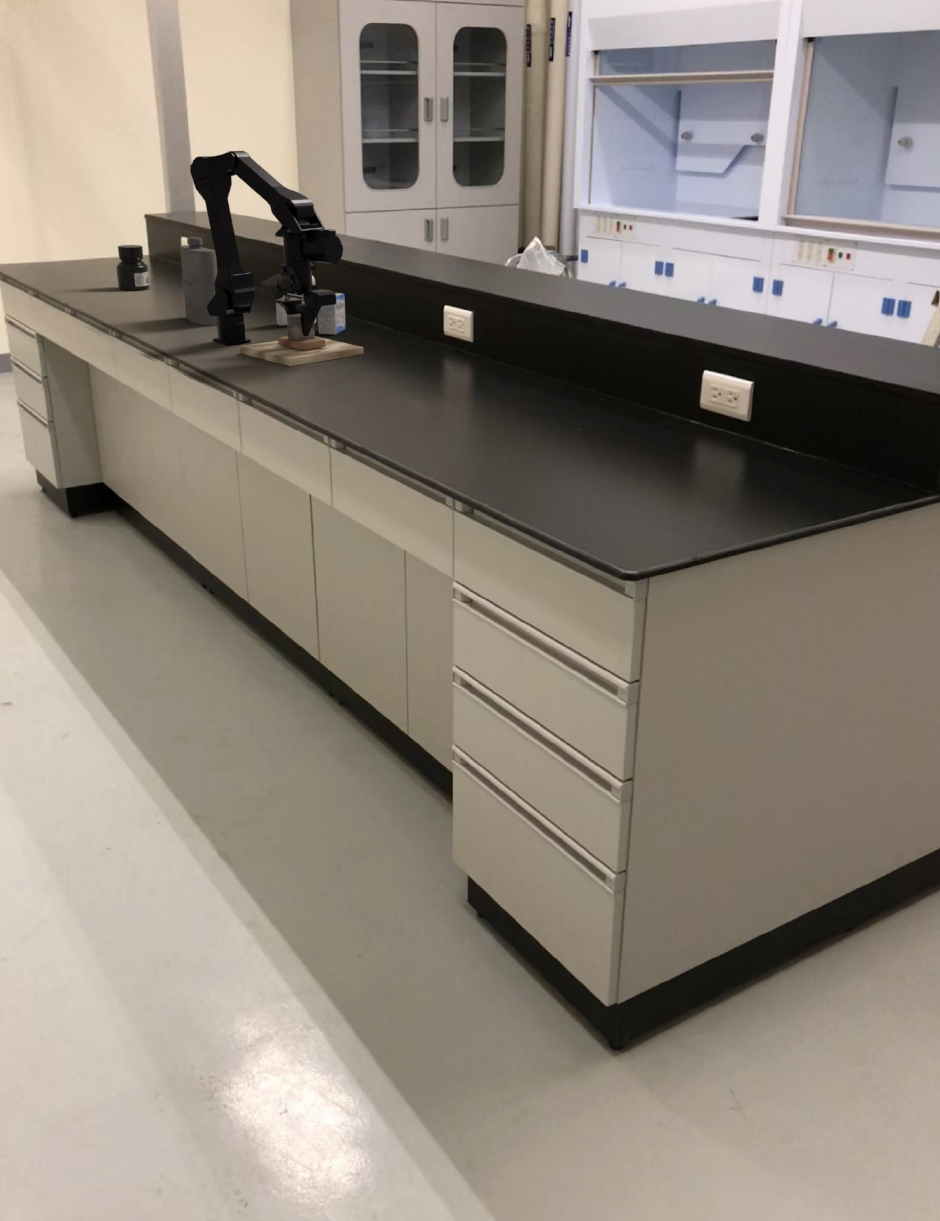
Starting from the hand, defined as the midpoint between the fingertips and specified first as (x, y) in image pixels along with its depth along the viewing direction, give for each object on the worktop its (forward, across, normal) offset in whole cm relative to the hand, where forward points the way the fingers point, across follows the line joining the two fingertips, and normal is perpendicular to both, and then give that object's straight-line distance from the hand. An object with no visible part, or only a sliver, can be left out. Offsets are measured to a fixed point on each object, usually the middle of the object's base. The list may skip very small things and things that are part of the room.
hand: (301, 334), depth 242 cm
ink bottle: (+4, -108, +21) cm, 110 cm away
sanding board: (+4, 0, 0) cm, 4 cm away
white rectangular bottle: (+4, -31, +22) cm, 38 cm away
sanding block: (+2, 0, 0) cm, 2 cm away
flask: (+4, -49, +6) cm, 49 cm away
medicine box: (+4, -17, +22) cm, 28 cm away
